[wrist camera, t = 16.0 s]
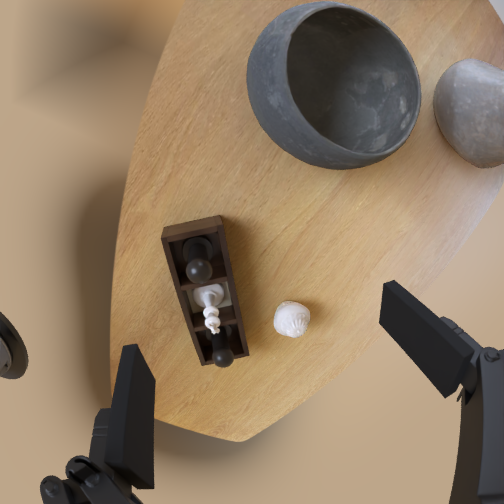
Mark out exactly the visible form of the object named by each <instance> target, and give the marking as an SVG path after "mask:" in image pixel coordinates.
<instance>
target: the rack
mask: <svg viewBox="0 0 504 504" xmlns="http://www.w3.org/2000/svg"><path fill="white" fill-rule="evenodd" d="M199 235H204V236H206V237H207V238H208V239H209V240H210V241H211V243H212V246H213V256H212V258H211V260H210V261H209V262H210V264H211V266H212V276H211V278H210V279H209V280H208V281H207V282H205V283H203V284H196V283H193V282H192V281H190V279H189V278H188V277H187V274H186V267H187V265H188V263H187V262H186V261H185V259H184V258H183V255H182V246H183V243H184V241H185V240H186V239H187V238H190V237H195V236H199ZM161 241H162V244H163V248H164V252H165V255H166V259H167V262H168V266H169V269H170V273H171V276H172V279H173V283H174V286H175V289H176V292H177V295H178V299H179V302H180V305H181V308H182V311H183V314H184V317H185V320H186V323H187V326H188V329H189V332H190V335H191V338H192V340H193V343H194V346H195V349H196V351H197V354H198V357H199V360H200V362H201V365H202V366H204V365H209V364H214V362H213V359H212V354H213V346H212V341H210V340H208V339H207V337H206V335H205V330H207V329H209V328H207V327H206V325H205V320H206V317H205V316H204V314H203V311H204V309H205V308H204V307H201V306H199V305H198V304H197V303H196V302H195V301H194V299H193V296H192V290H193V289H195V288H199V287H204V286H208V285H213V284H218V283H221V284H222V286H223V288H224V297H223V300H222V301H221V303H220V304H218V305H217V306H215V307H216V308H217V309H218V310H219V314H218V316H217V317H218V318H219V319H220V325H219V327H221V326H225V325H231V329H232V334H231V336H230V338H229V339H228V341H229V346H230V350H231V351H232V352H233V354H234V359H237V358H241V357H246V356H250V355H249V350H248V346H247V341H246V336H245V332H244V327H243V322H242V317H241V313H240V308H239V303H238V298H237V293H236V288H235V283H234V278H233V273H232V268H231V263H230V258H229V253H228V248H227V243H226V238H225V232H224V227H223V223H222V221H221V218H220V215H217V216H213V217H208V218H203V219H199V220H194V221H189V222H185V223H180V224H176V225H172V226H167V227H164V229H163V232H162V236H161Z"/></svg>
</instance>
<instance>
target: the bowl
mask: <svg viewBox="0 0 504 504" xmlns="http://www.w3.org/2000/svg"><path fill="white" fill-rule="evenodd" d="M247 89H248V96H249V100H250V103H251V106H252V109H253V112H254V114H255V116H256V118H257V120H258V122H259V123H260V125H261V127H262V128H263V130H264V131H265V132H266V133H267V134H268V136H269V137H270V138H271V139H272V140H273V141H274V142H275V143H276V144H277V145H279V146H280V147H281V148H282V149H283V150H285V151H286V152H288V153H289V154H291V155H292V156H294V157H295V158H297V159H299V160H301V161H303V162H305V163H308V164H310V165H314V166H318V167H322V168H326V169H334V170H346V169H355V168H361V167H365V166H368V165H371V164H374V163H377V162H379V161H382V160H383V159H385V158H386V157H388V156H390V155H391V154H393V153H394V152H395V151H397V150H398V149H399V148H400V147H401V146H402V145H403V144H404V143H405V142H406V140H407V139H408V137H409V136H410V133H411V131H412V130H413V128H414V126H415V123H416V120H417V118H418V115H419V111H420V106H421V85H420V79H419V75H418V71H417V68H416V66H415V63H414V61H413V59H412V57H411V55H410V53H409V52H408V50H407V48H406V47H405V45H404V44H403V43H402V41H401V40H400V39H399V38H398V36H397V35H396V34H395V33H394V32H393V31H392V30H391V29H390V28H389V27H388V26H386V25H385V24H384V23H383V22H382V21H380V20H379V19H378V18H376V17H375V16H373V15H371V14H369V13H367V12H365V11H363V10H361V9H359V8H356V7H353V6H350V5H347V4H344V3H338V2H331V1H322V2H313V3H307V4H302V5H298V6H295V7H292V8H290V9H288V10H286V11H285V12H283V13H281V14H280V15H279V16H277V17H276V18H275V19H274V20H273V21H272V22H271V23H269V24H268V25H267V27H266V28H265V29H264V30H263V31H262V33H261V34H260V35H259V37H258V39H257V41H256V43H255V45H254V47H253V49H252V51H251V54H250V56H249V60H248V65H247Z"/></svg>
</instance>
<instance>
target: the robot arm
mask: <svg viewBox="0 0 504 504" xmlns="http://www.w3.org/2000/svg"><path fill="white" fill-rule="evenodd" d="M379 324H380V325H381V326H382V327H383V328H384V329H385V330H386V331H387V332H388V333H389V335H390V336H391V337H392V338H393V339H394V340H395V341H396V342H397V343H398V344H399V346H400V347H401V348H402V349H403V350H404V351H405V352H406V354H407V355H408V356H409V357H410V358H411V359H412V360H413V362H414V363H415V364H416V365H417V366H418V367H419V368H420V370H421V371H422V372H423V373H424V374H425V375H426V376H427V378H428V379H429V380H430V381H431V382H432V384H433V385H434V386H435V387H436V388H437V390H439V392H440V393H441V394H442V395H443V397H444V398H446V397H448V396H450V395H451V394H453V393H454V392H455V391H456V390H457V388H458V386H459V384H460V383H461V384H462V386H463V388H462V390H461V392H460V394H459V396H458V398H457V402H458V401H459V399H460V398H461V396H462V400H461V424H460V437H459V447H458V455H457V463H456V470H455V475H454V481H453V486H452V491H451V496H450V501H449V504H504V349H503V350H499V351H498V350H496V349H495V348H492V347H485V348H483V347H481V346H480V345H479V344H478V343H477V342H476V341H475V340H474V339H473V338H471V337H470V336H469V335H468V334H467V333H466V332H464V330H463V329H461V328H460V327H458V325H457V324H456V323H455V322H453V321H452V320H450V319H448V318H446V317H441V318H439V317H438V316H436V315H435V314H434V313H433V312H432V311H431V310H430V309H428V308H427V307H426V306H425V305H424V304H422V303H421V302H420V301H419V300H418V299H417V298H415V297H414V296H413V295H412V294H411V293H409V292H408V291H407V290H406V289H405V288H403V287H402V286H401V285H400V284H398V283H397V282H396V281H395V280H393V281H390V282H387V283H384V284H383V293H382V302H381V310H380V318H379ZM12 362H13V356H12V352H11V349H10V347H9V345H8V343H7V341H6V340H5V338H4V337H3V335H2V334H1V333H0V376H2V375H3V374H4V373H5V372H7V371H8V370H9V368H10V366H11V365H12ZM155 383H156V380H155V378H154V376H153V375H152V373H151V371H150V369H149V367H148V365H147V363H146V361H145V359H144V357H143V355H142V353H141V351H140V349H139V347H138V345H137V344H132V345H125V346H123V349H122V354H121V358H120V363H119V368H118V373H117V378H116V383H115V388H114V394H113V400H112V405H111V408H106V409H100V411H99V412H98V414H97V416H96V418H95V423H94V429H93V433H92V435H93V437H92V440H91V446H90V453H89V458H88V457H85V456H75V457H73V458H72V459H71V460H70V461H69V462H68V463H67V466H66V475H67V478H68V479H66V480H61V479H59V478H58V477H56V476H53V475H52V476H47V477H45V478H44V479H43V480H42V482H41V485H40V492H41V496H42V500H43V503H44V504H143V503H142V502H141V501H140V500H139V499H138V498H137V497H136V495H135V494H134V493H132V485H133V486H134V487H135V488H137V489H154V404H155Z"/></svg>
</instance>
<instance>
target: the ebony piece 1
mask: <svg viewBox="0 0 504 504" xmlns="http://www.w3.org/2000/svg"><path fill="white" fill-rule="evenodd" d="M182 255H183V258H184V259H185V261H186V262H187V263H188V265H187V267H186V274H187V277H188V278H189V279H190V281H192V282H193V283H196V284H203V283H205V282H207V281H208V280H209V279H210V278H211V276H212V266H211V264H210V262H209V261H210V260H211V258H212V256H213V246H212V243H211V241H210V240H209V239H208V238H207V237H206V236H204V235H199V236H195V237H190V238H187V239H186V240H185V241H184V243H183V246H182Z"/></svg>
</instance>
